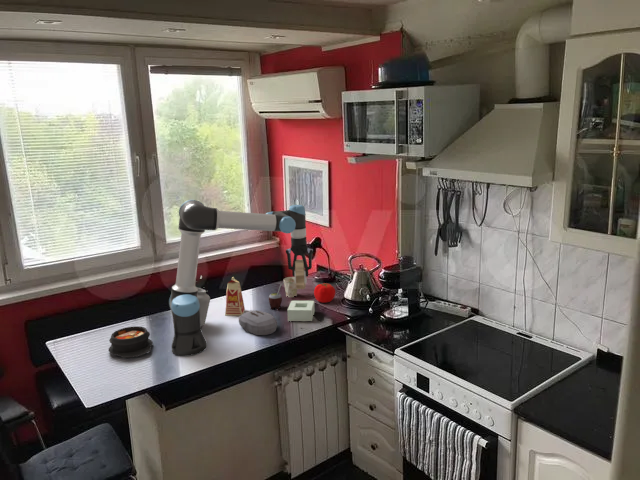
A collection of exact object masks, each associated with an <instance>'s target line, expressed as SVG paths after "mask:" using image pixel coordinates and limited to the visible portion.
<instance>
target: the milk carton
mask: <svg viewBox="0 0 640 480" xmlns="http://www.w3.org/2000/svg"><path fill="white" fill-rule="evenodd" d="M225 297H226V299H225V302H226V303H225V312H224V313H225V314H224V316H230V317H231V316H232V317H233V316H234V317H235V316H237V317H240V315H242V314H244V313H245V310H246V309H245V303H244V302H245V301H244V297H243V293H242V287H241V283H240V281H239V280H237V279H235V277H234V276H232V277H231V279H230V281H228V282H227V287H226V293H225Z"/></svg>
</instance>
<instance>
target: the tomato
mask: <svg viewBox="0 0 640 480" xmlns="http://www.w3.org/2000/svg"><path fill="white" fill-rule="evenodd" d="M313 295H314V298H315V300H316V301H317V302H319V303H330V302H332V301H333V299H334V298H335V296H336V289H335V287H334V286H332V284H330V283H327V282H326V283H325V282H323V283H319V284H317V285H316V286H315V287H314V290H313Z"/></svg>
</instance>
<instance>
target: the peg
mask: <svg viewBox="0 0 640 480" xmlns="http://www.w3.org/2000/svg"><path fill="white" fill-rule="evenodd" d="M295 270H296V289H297V290H305V289H306V286H307V285H306V284H307V283H306V284H304V270H305V267H304V262H303V259H297V260H296V261H295Z"/></svg>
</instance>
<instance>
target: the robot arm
mask: <svg viewBox="0 0 640 480" xmlns="http://www.w3.org/2000/svg"><path fill="white" fill-rule="evenodd" d="M178 216H179V220H178V231H180V233H181V234H180V244H179V251H178V260H177V270H176V277H175V278H176V279H175V284H174V285H172V286H171V294H170V295H169V296H170V297H169V299H168V306H169V308H170V310H171V311H170V313H171V316H172V322H173V332H174V335H173V338H172V342H171V353H172V354H173V355H175V356H180V357H181V356H183V357H186V356H193V355H194V356H195V355H197V354H201V353H202V352H204V351H205V350H207V348H208V345H207V343H208V342H207V340H206V337H205V335H204V333H203V331H202V326H201V320H200V309H199V307H200V304H199V300H198V298H197V292H198V289H197V288H198V287H197V286H196V279H197V271H198V263H199V262H198V261H199V255H200V244H201V237H202V235H203V234H204V233H205V232H206V231H216V230H218V229H228V230H246V231H247V230H248V231H264V232H266V231H267V232H277V233H279V232H280V233H284V234H290V237H291V238H290V245H291V246H290V248H287V249H286V250H285V254H286V257H287V258H286V259H287V268H288V270H291V272H292V276H291V277H295V284H296V270H295V261H296V260H298V256H301V260H303V262H304V267H305V270H304V284H307V283H308V281H307V280H308V279H307V277H308V276H309V270H311V269H312V268H313V262H312V261H313V257H312V256H313V255H312V254H313V251H314V249H313V248H309V247H308V243H307V241H308V240H307V237H306V236H307V227H306V226H307V224H306V223H307V222H306V219H307V218H306V216H307V215H306V208H305V205H304V204H292V205H289V207H288V209H287V210H286V209H285V210H278V211H269V212H266V213H259V212H257V213H256V212H255V213H254V212H244V211H243V212H242V211H230V210H229V211H227V210H220V209H218V208H216V207H210V206H205V205H204V203H202V202H201V201H199V200H196V199H188V200H186V201H184V202H183V203H182V204H181V205H180V207H179V210H178ZM291 252H292V253H293V259H292V257H291V256H292V255H291ZM306 253H308V261H307V259H306ZM292 260H293V261H292Z"/></svg>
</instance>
